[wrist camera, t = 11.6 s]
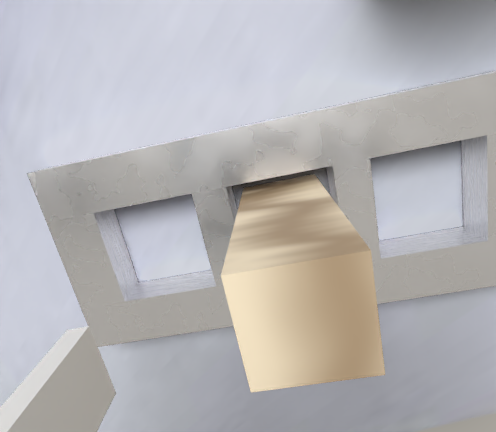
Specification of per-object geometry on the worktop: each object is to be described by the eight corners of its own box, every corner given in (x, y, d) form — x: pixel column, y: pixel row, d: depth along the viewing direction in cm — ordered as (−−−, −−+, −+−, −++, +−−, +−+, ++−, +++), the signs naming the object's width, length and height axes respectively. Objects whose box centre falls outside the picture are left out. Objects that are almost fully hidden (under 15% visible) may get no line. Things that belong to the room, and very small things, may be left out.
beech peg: (257, 251, 23) (250, 392, 12) (243, 187, 22) (220, 275, 10) (324, 240, 23) (385, 374, 11) (314, 173, 21) (370, 250, 10)
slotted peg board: (112, 324, 25) (95, 349, 23) (52, 166, 22) (24, 174, 19) (512, 260, 22) (544, 280, 20) (515, 66, 19) (555, 59, 16)
